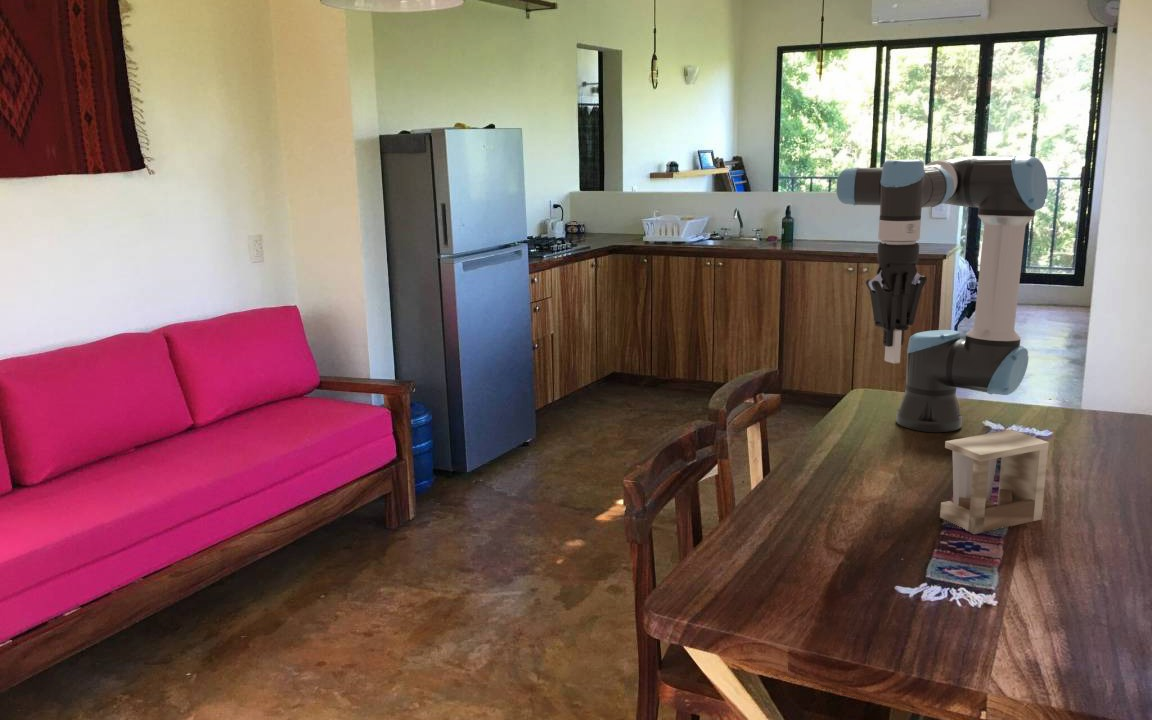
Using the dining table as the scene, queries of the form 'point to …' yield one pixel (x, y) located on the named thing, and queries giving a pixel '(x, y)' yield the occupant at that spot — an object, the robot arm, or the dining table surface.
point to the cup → (968, 476)
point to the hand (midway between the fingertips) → (892, 361)
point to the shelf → (1000, 481)
